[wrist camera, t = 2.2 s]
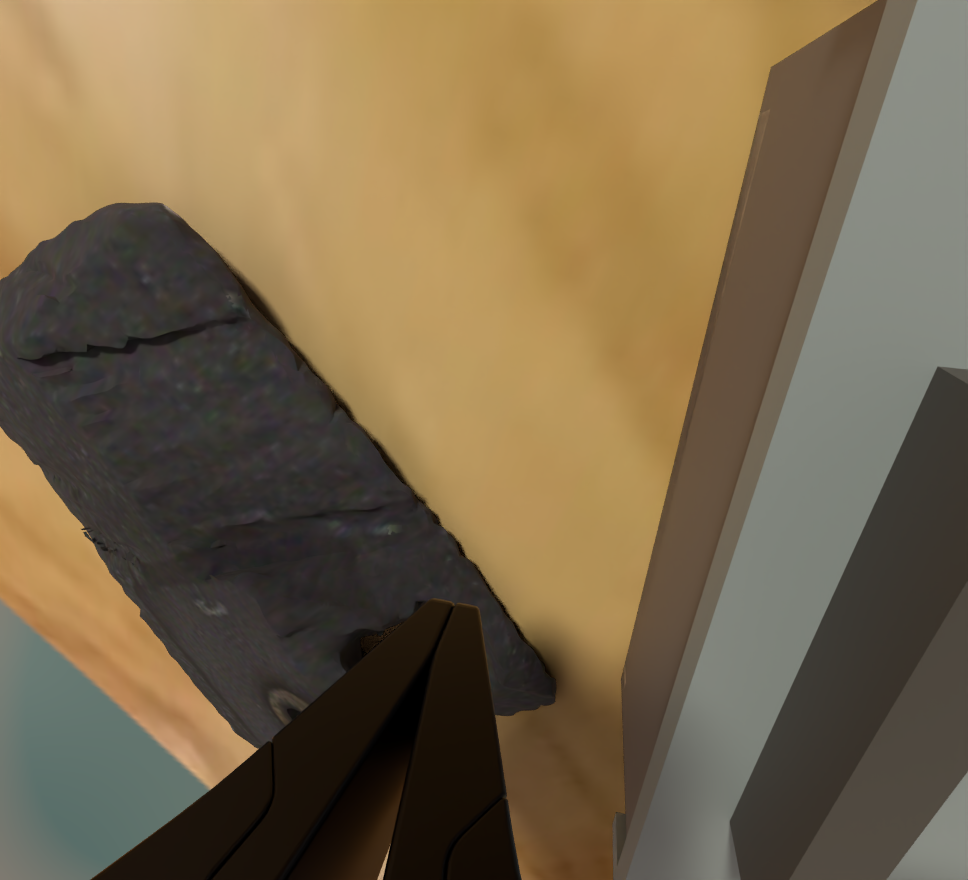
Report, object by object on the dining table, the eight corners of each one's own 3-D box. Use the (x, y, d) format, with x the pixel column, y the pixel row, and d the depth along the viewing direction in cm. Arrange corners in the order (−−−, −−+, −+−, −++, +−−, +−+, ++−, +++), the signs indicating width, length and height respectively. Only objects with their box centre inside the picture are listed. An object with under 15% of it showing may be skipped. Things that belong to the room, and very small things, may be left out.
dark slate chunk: (256, 114, 14) (106, 89, 10) (582, 703, 21) (577, 837, 17) (-58, 345, 19) (-242, 393, 15) (285, 751, 26) (225, 861, 22)
